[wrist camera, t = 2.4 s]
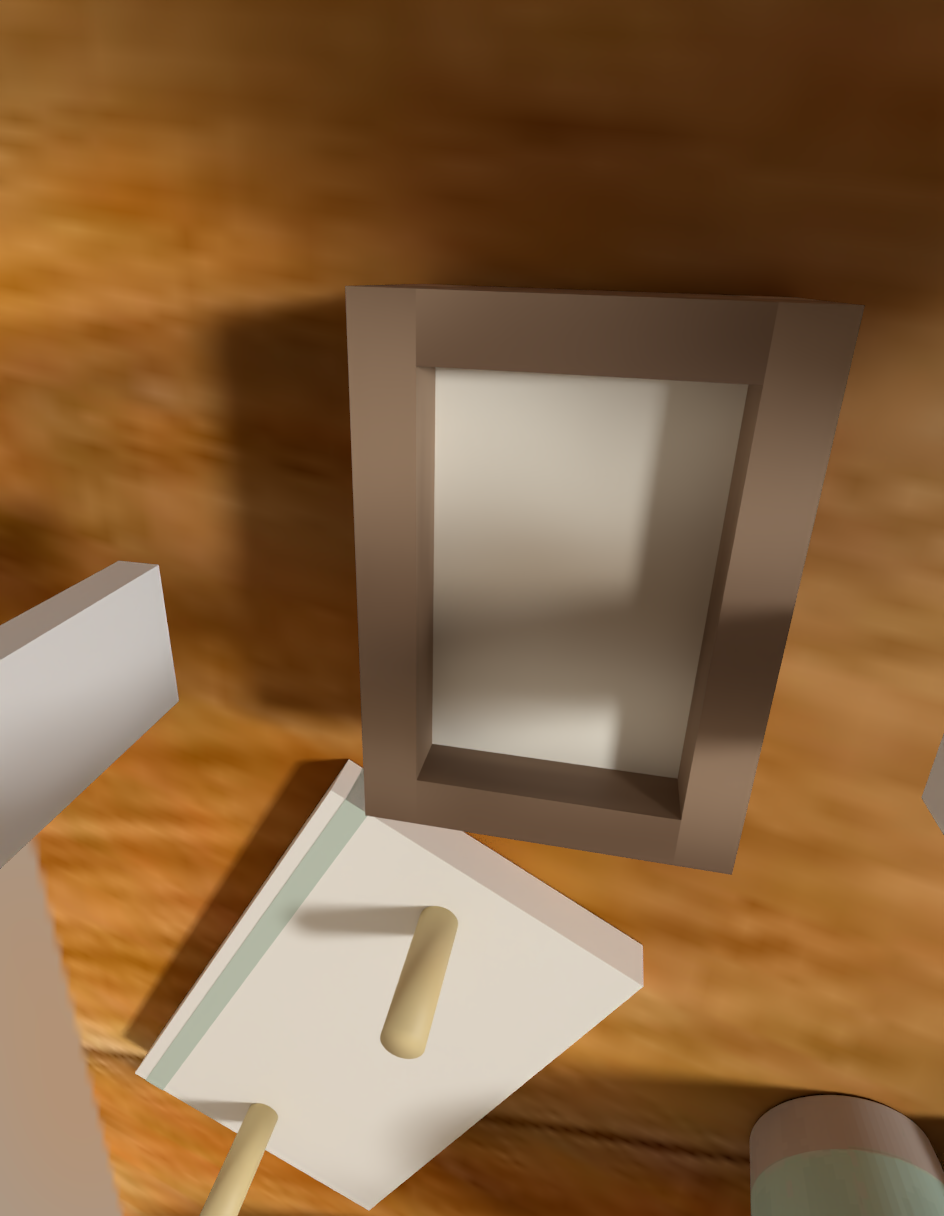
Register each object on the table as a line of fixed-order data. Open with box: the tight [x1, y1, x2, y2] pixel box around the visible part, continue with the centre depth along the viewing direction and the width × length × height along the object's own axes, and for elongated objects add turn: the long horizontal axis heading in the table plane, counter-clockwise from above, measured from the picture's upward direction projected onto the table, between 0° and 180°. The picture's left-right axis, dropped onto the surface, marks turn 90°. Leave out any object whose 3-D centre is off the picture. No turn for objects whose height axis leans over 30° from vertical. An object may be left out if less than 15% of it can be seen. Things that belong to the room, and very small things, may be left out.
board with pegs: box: [135, 760, 643, 1216], centre depth 24 cm, size 18×11×6 cm, turn 148°
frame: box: [345, 284, 865, 875], centre depth 16 cm, size 11×8×5 cm
